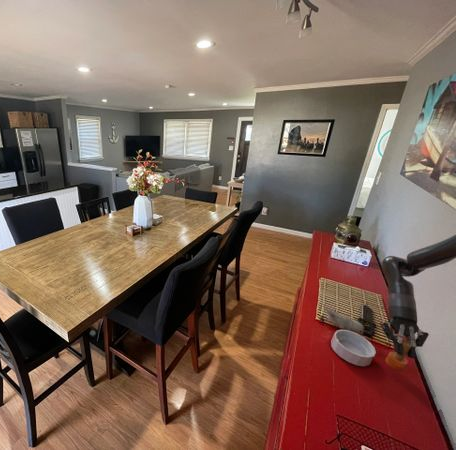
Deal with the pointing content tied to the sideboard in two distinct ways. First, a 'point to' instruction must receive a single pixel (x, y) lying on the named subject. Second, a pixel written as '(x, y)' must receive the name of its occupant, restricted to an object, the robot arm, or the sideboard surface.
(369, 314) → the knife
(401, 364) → the brush
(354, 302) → the sideboard surface
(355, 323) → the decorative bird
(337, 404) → the sideboard surface
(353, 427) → the sideboard surface
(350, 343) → the bowl
